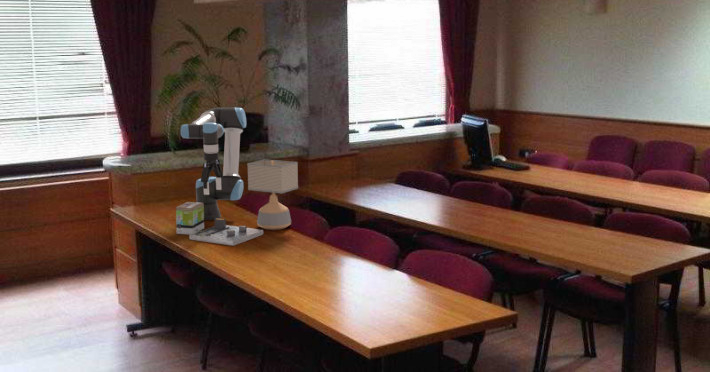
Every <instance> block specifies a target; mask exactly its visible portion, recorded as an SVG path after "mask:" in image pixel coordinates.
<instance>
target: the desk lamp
mask: <svg viewBox="0 0 710 372" xmlns="http://www.w3.org/2000/svg"><path fill="white" fill-rule="evenodd" d="M298 163H299V162H298V161H287V160H278V159H276V160H275V159H265V158H264V159H260V160H256V161H252V162H247V190H248V191H253V192H263V193H271V194H270V195H269V200H268V202H267V203H266V204H264V205H263V206H262V207H260V208H259V210H258V214H257V218H256V223H257V225H256V226H257V227H259V228H262V230H266V231H280V230H283V229H286V228H287V227H289V226H290V225H292V219H291V214H290V209H289V208H288V207H287V206H285V205H283V204H282V203H280V202H279V199H278V198H279V197H278V195H277V194H285V193H288V192H291V191H294V190H298V189H299V179H298V178H299V175H298V173H299V171H298V167H299V166H298Z"/></svg>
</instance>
